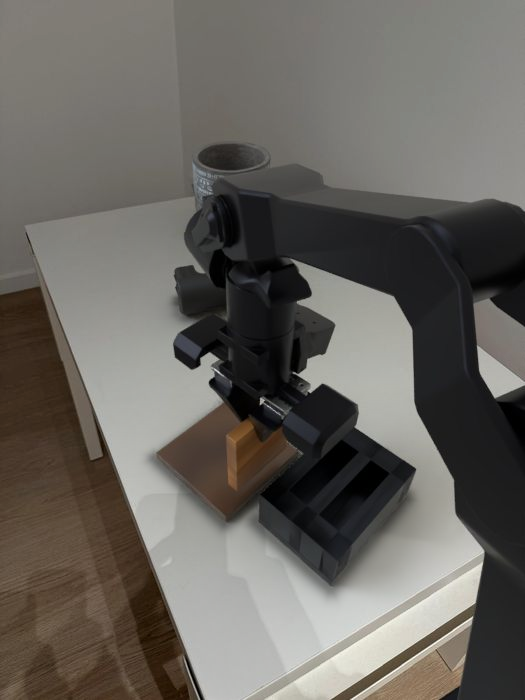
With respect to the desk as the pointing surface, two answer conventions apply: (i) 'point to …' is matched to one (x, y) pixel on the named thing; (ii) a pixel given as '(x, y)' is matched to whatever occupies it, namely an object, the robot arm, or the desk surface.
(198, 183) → the planter
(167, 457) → the board
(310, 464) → the toaster
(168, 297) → the desk surface
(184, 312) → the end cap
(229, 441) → the toast
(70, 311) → the desk surface
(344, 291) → the desk surface
